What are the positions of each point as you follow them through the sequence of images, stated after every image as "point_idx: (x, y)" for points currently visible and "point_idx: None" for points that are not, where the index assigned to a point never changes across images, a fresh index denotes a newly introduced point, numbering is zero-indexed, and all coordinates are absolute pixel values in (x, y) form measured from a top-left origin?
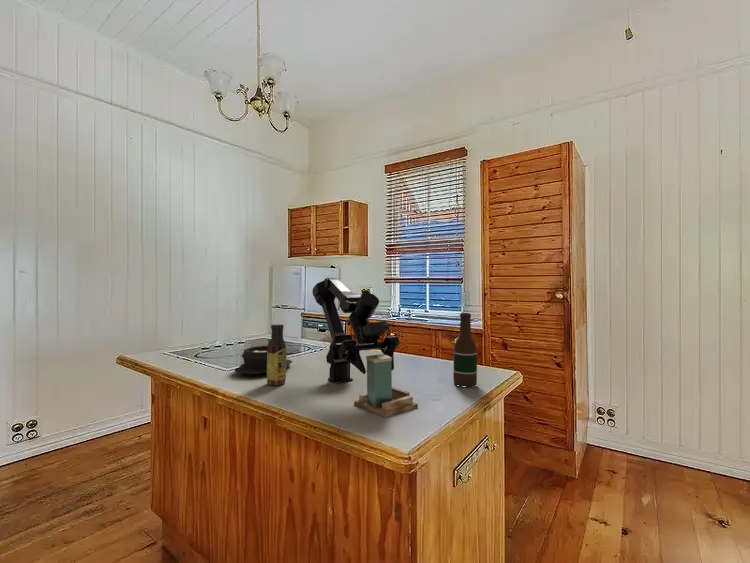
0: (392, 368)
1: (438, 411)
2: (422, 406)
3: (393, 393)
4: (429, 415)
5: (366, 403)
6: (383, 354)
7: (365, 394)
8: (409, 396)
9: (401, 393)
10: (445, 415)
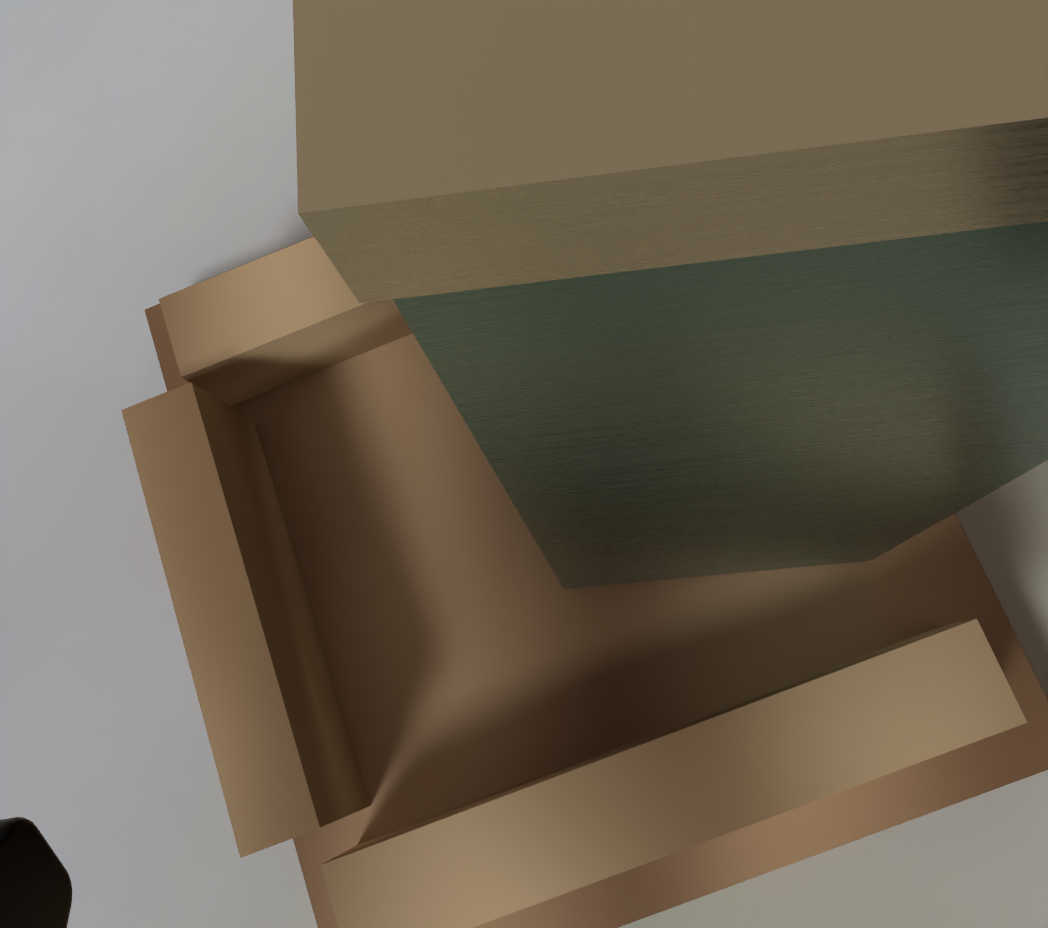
0: (23, 835)
1: (23, 136)
2: (93, 350)
3: (316, 701)
4: (192, 46)
5: (885, 556)
6: (344, 72)
7: (895, 696)
8: (189, 339)
9: (238, 506)
10: (32, 6)
